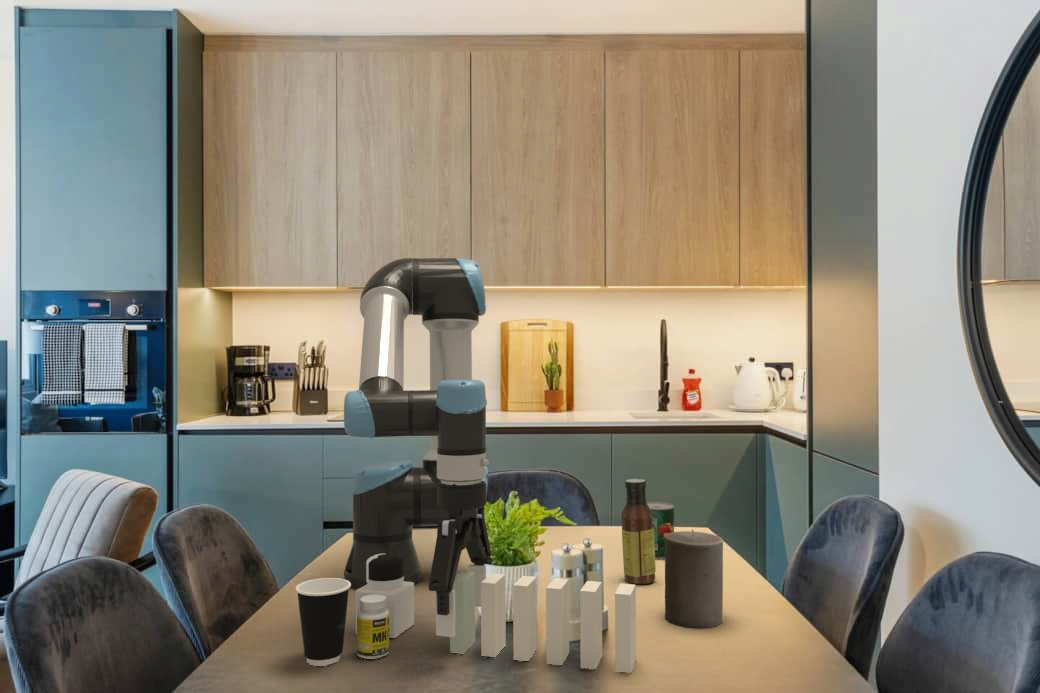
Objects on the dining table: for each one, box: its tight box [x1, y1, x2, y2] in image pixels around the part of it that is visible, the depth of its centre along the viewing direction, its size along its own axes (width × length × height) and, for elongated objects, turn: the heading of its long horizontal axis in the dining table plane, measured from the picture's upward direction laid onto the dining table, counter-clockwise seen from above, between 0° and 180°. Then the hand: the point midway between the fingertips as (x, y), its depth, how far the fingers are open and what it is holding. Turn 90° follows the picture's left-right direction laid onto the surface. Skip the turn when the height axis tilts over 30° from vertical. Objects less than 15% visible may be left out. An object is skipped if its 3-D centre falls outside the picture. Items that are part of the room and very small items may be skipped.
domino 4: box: [579, 580, 603, 670], centre depth 112 cm, size 2×5×11 cm, turn 163°
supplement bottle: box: [356, 594, 390, 660], centre depth 116 cm, size 5×5×8 cm
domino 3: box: [545, 577, 570, 667], centre depth 114 cm, size 2×5×11 cm, turn 163°
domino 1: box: [480, 572, 507, 658], centre depth 117 cm, size 2×5×11 cm, turn 163°
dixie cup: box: [295, 577, 351, 665], centre depth 114 cm, size 8×8×11 cm
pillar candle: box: [664, 529, 724, 629], centre depth 131 cm, size 10×10×15 cm
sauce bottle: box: [621, 478, 657, 585], centre depth 152 cm, size 6×6×20 cm
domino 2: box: [512, 575, 538, 662], centre depth 115 cm, size 2×5×11 cm, turn 163°
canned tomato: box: [646, 501, 675, 560], centre depth 172 cm, size 8×8×11 cm
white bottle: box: [354, 553, 415, 639], centre depth 126 cm, size 7×7×12 cm
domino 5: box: [614, 583, 637, 674], centre depth 111 cm, size 2×5×11 cm, turn 163°
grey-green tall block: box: [449, 570, 476, 653], centre depth 118 cm, size 2×5×11 cm, turn 163°
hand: (462, 620), depth 118 cm, fingers open, 13 cm apart
